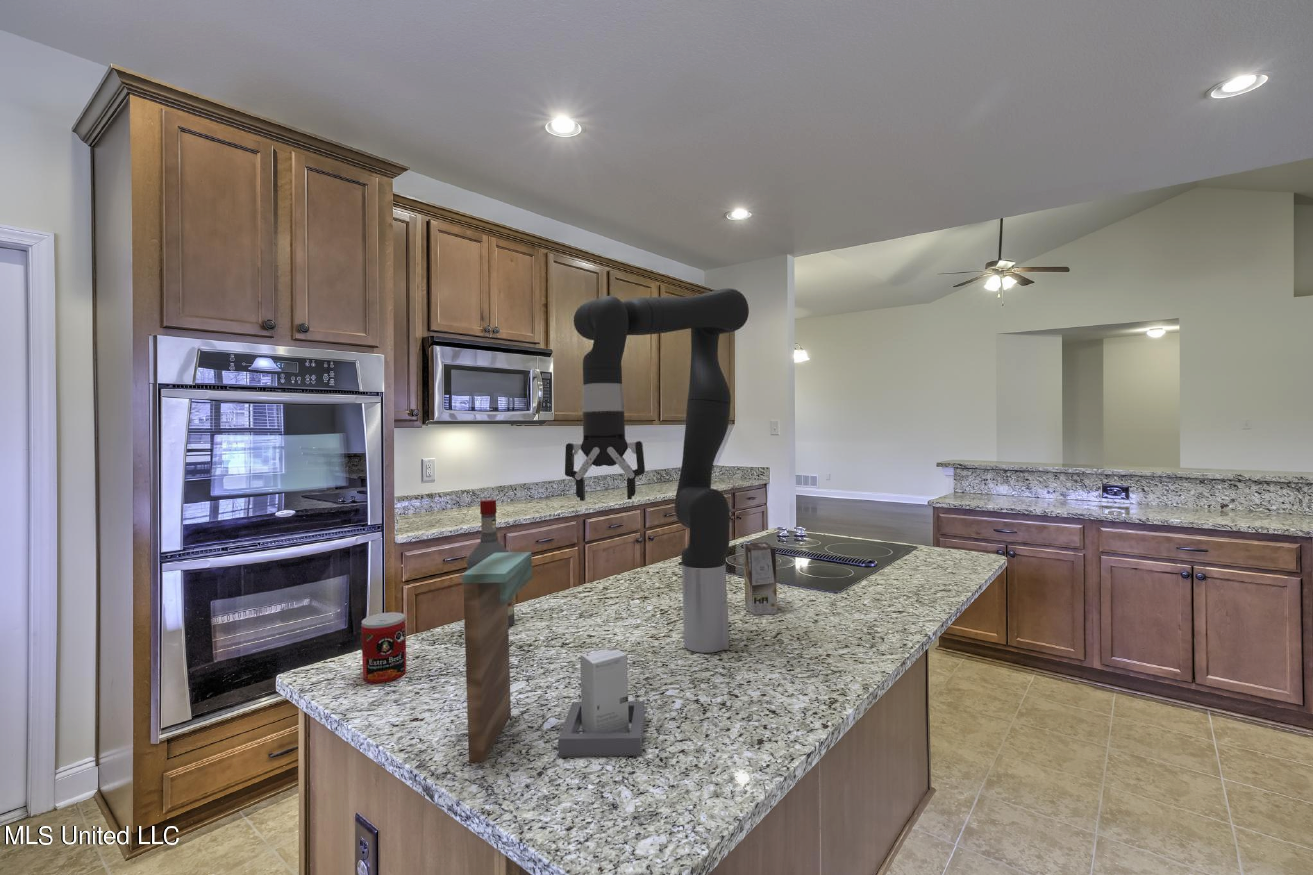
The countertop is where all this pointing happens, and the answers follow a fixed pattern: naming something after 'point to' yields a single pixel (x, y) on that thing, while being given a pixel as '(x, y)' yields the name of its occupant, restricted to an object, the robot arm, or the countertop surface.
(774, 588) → the coffee box
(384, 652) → the canned food
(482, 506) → the liquor
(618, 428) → the robot arm
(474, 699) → the awning stand
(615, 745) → the socket
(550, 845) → the countertop surface
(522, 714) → the countertop surface
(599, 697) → the skincare box
